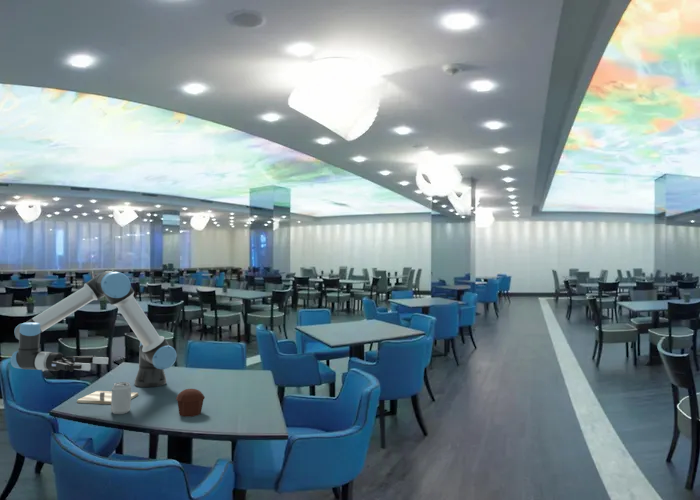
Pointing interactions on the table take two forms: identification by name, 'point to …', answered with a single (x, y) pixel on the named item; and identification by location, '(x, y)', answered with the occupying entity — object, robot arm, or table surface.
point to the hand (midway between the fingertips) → (99, 363)
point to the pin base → (97, 395)
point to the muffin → (190, 402)
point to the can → (121, 398)
